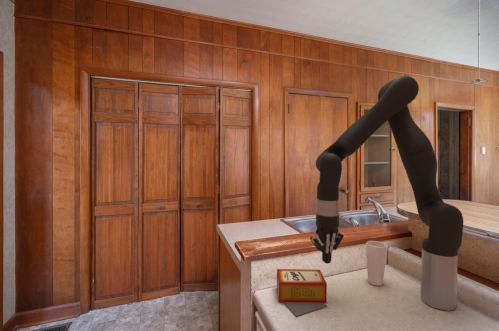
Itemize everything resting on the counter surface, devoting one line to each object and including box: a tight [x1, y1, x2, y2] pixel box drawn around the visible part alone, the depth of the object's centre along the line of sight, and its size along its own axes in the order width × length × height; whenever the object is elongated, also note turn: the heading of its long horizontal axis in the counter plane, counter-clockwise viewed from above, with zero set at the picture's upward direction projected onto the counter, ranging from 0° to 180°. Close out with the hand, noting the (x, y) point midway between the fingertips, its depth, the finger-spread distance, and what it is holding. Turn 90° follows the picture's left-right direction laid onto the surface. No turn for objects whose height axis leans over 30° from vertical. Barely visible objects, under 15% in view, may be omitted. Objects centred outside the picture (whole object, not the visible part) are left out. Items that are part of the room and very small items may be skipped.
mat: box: [282, 302, 328, 318], centre depth 82 cm, size 12×11×1 cm
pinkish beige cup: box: [365, 240, 387, 287], centre depth 93 cm, size 7×7×15 cm
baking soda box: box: [276, 268, 328, 304], centre depth 86 cm, size 10×6×16 cm
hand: (326, 262), depth 84 cm, fingers closed
